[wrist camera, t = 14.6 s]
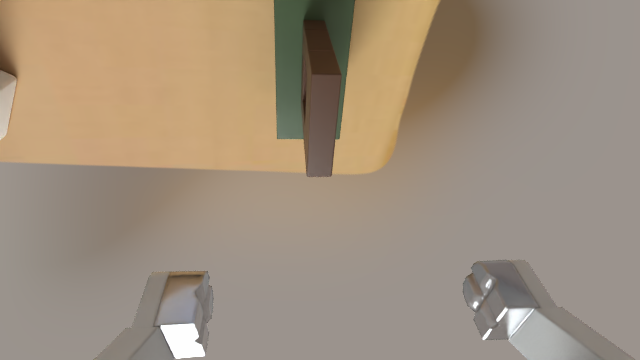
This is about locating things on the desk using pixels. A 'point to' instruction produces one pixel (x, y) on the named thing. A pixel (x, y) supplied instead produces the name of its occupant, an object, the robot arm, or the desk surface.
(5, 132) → the medicine bottle
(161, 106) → the desk surface
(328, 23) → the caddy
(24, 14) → the desk surface
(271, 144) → the desk surface
